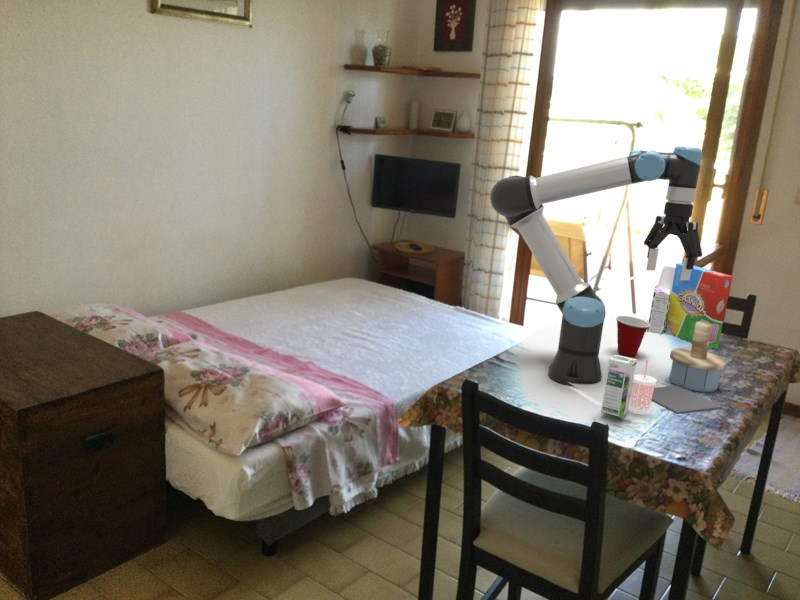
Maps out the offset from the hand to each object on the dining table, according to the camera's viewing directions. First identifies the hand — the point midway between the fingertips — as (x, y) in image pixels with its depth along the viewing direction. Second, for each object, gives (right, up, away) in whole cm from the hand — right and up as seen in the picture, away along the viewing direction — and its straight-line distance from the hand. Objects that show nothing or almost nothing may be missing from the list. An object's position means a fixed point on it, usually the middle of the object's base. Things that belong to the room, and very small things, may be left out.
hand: (667, 275), depth 199 cm
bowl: (+8, -32, +1) cm, 33 cm away
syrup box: (-23, -36, -25) cm, 50 cm away
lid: (+9, -25, -1) cm, 27 cm away
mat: (-2, -35, -13) cm, 37 cm away
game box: (+25, -23, +44) cm, 56 cm away
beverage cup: (-16, -36, -23) cm, 46 cm away
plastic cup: (-3, -26, +25) cm, 36 cm away
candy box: (+18, -19, +57) cm, 63 cm away
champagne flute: (+20, -19, +60) cm, 66 cm away
